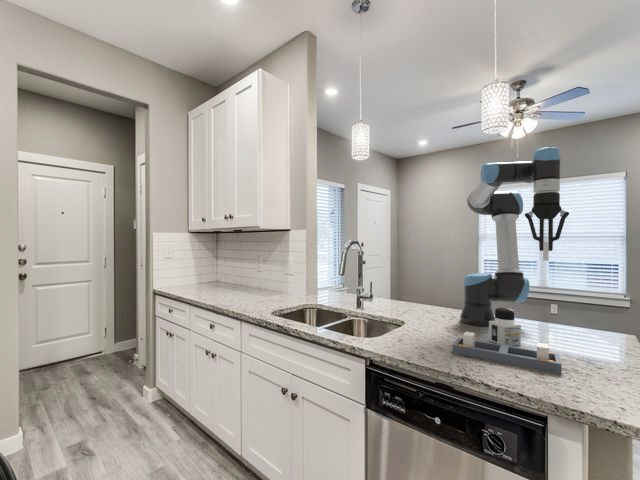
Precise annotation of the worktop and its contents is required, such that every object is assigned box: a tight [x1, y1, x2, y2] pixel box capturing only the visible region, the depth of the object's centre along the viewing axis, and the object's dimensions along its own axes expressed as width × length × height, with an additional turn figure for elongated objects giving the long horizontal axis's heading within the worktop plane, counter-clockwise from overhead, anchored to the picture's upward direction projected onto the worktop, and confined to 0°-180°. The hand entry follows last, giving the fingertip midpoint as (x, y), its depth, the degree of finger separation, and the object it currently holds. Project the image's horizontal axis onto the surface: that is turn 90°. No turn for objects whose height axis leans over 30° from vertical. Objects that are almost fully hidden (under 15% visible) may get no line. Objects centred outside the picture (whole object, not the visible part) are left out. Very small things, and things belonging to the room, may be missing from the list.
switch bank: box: [452, 337, 562, 375], centre depth 106 cm, size 10×30×3 cm, turn 56°
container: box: [488, 307, 522, 347], centre depth 122 cm, size 8×8×13 cm
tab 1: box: [462, 331, 476, 347], centre depth 112 cm, size 5×3×5 cm, turn 146°
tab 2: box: [536, 341, 550, 360], centre depth 100 cm, size 5×3×5 cm, turn 146°
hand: (545, 260), depth 112 cm, fingers closed
